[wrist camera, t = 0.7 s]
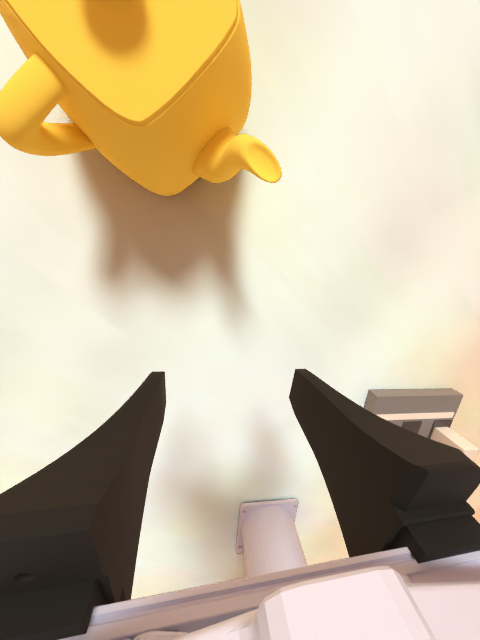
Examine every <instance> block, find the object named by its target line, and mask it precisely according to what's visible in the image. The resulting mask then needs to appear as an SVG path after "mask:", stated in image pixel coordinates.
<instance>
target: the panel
mask: <svg viewBox="0 0 480 640" xmlns="http://www.w3.org/2000/svg"><path fill="white" fill-rule="evenodd" d="M462 397H463V395H462V394H461V393H459V392H457V391H455V390H453V389H379V390H369V392H368V395H367V399H366V402H365V406H364V409H366V410H368V411H370V412H372V413H373V414H375V415H377V416H379V417H381V418H383V419H385V420H387V421H389V422H391V423H393V424H395V425H398V426H400V427H402V428H404V429H407V430H409V431H411V432H414V433H416V434H419V435H421V436H424V437H426V438H429V439H432V440H434V441H437V442H440V443H443V444H446V445H449V446H451V447H454V448H457V449H459V450H461V451H462V452H463V453H464V454H465V455H466V456H467V457H469V458H470V459H471V460H472V461H473V462H474V460H475V457H476V455H477V453H478V451H479V449H478V448H476V447H475V446H474V445H472V444H471V443H469V442H468V441H467V440H465V439H464V438H463V437H461V436H460V435H458V434H457V433H456V432H454V431H453V430H452V429H450V426H451V423H452V421H453V419H454V416H455V414H456V412H457V409H458V407H459V404H460V402H461V400H462Z"/></svg>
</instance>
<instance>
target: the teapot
mask: <svg viewBox="0 0 480 640" xmlns="http://www.w3.org/2000/svg"><path fill="white" fill-rule="evenodd" d="M0 14H1V15H2V17H3V19H4V21H5V23H6V24H7V26H8V28H9V30H10V31H11V33H12V35H13V36H14V38H15V40H16V41H17V43H18V45H19V46H20V48H21V50H22V51H23V53H24V54H25V56H26V57H27V59H28V60H27V61H26V62H25V63H24V64H23V65H22V66H21V67H20V68H19V69H18V70H17V71H16V72H15V74H14V75H13V76H12V77H11V78H10V79H9V81H8V82H7V83H6V84H5V86H4V87H3V89H2V90H1V91H0V136H1V137H2V138H3V139H4V140H5V141H6V142H7V143H8V144H9V145H11V146H12V147H14V148H15V149H18V150H20V151H23V152H25V153H29V154H34V155H41V156H56V155H64V154H71V153H76V152H82V151H87V150H91V149H97V150H98V151H99V152H100V153H101V154H102V155H103V156H104V157H105V158H106V159H108V160H109V161H110V162H111V163H112V164H113V165H114V166H115V167H117V168H118V169H119V170H120V171H122V172H123V173H124V174H126V175H127V176H128V177H130V178H131V179H132V180H134V181H135V182H137V183H138V184H139V185H141V186H143V187H144V188H146V189H148V190H149V191H151V192H154V193H156V194H158V195H164V196H171V195H175V194H177V193H180V192H181V191H183V190H184V189H185V188H187V187H188V186H189V185H191V184H192V183H193V182H194V181H195V180H197V179H198V178H199V177H201V178H203V179H205V180H207V181H209V182H212V183H221V182H225V181H227V180H229V179H231V178H232V177H233V176H235V175H236V174H237V173H238V172H239V171H240V170H241V169H245V170H248V171H249V172H251V173H252V174H254V175H256V176H257V177H258V178H260V179H262V180H264V181H266V182H270V183H275V182H277V181H279V180H280V178H281V173H282V172H281V168H280V165H279V162H278V161H277V159H276V157H275V156H274V154H273V153H272V152H271V150H270V149H269V148H268V147H267V146H266V145H265V144H263V143H262V142H261V141H260V140H258V139H256V138H254V137H252V136H250V135H247V134H240V135H237V134H238V133H239V132H240V130H241V129H242V128H243V125H244V123H245V121H246V119H247V115H248V111H249V106H250V99H251V60H250V52H249V46H248V40H247V34H246V29H245V23H244V18H243V13H242V9H241V4H240V0H0ZM57 104H59V105H60V107H61V108H62V109H63V111H64V112H65V113H66V114H67V116H68V117H69V118H70V119H71V121H72V122H73V123H74V124H60V123H46V122H43V121H44V120H45V118H46V117H47V115H48V114H49V113H50V112H51V110H52V109H53V108H54V107H55V106H56V105H57Z"/></svg>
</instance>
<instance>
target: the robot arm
mask: <svg viewBox="0 0 480 640" xmlns="http://www.w3.org/2000/svg"><path fill="white" fill-rule="evenodd" d="M289 399H290V402H291V405H292V408H293V411H294V413H295V416H296V418H297V420H298V422H299V424H300V426H301V428H302V430H303V432H304V434H305V436H306V438H307V440H308V442H309V444H310V446H311V448H312V450H313V452H314V455H315V457H316V459H317V461H318V464H319V467H320V469H321V472H322V474H323V477H324V480H325V483H326V485H327V488H328V491H329V494H330V497H331V499H332V502H333V505H334V509H335V512H336V515H337V518H338V521H339V524H340V527H341V530H342V534H343V537H344V540H345V544H346V547H347V551H348V554H349V558H345V559H340V560H335V561H330V562H324V563H319V564H314V565H309V566H308V565H307V562H306V559H305V556H304V553H303V550H302V547H301V543H300V540H299V537H298V534H297V531H296V528H295V525H294V521H295V517H296V512H297V507H298V500H297V499H295V498H294V499H283V500H273V501H262V502H251V503H243V504H242V505H241V506H240V515H239V524H238V533H237V542H236V553H238V554H241V553H243V556H244V565H245V573H246V578H241V579H236V580H231V581H226V582H220V583H215V584H210V585H205V586H200V587H194V588H189V589H184V590H179V591H174V592H168V593H163V594H158V595H153V596H148V597H142V598H137V599H132V600H131V593H132V586H133V579H134V571H135V564H136V557H137V551H138V544H139V537H140V531H141V524H142V518H143V512H144V506H145V499H146V493H147V488H148V482H149V476H150V472H151V467H152V463H153V459H154V455H155V452H156V448H157V444H158V440H159V436H160V433H161V429H162V425H163V420H164V414H165V407H166V390H165V372H151V373H150V374H149V376H148V377H147V378H146V380H145V381H144V382H143V383H142V384H141V386H140V387H139V388H138V389H137V390H136V391H135V393H134V394H133V395H132V396H131V397H130V398H129V399H128V400H127V401H126V402H125V403H124V404H123V405H122V406H121V408H120V409H119V410H118V411H117V412H116V413H115V414H114V415H112V416H111V417H110V418H109V419H108V420H107V421H106V422H105V423H104V424H103V425H101V426H100V427H99V428H98V429H97V430H96V431H94V432H93V433H92V434H91V435H89V436H88V437H87V438H86V439H84V440H83V441H82V442H80V443H79V444H78V445H76V446H75V447H74V448H72V449H71V450H70V451H68V452H67V453H65V454H64V455H63V456H61V457H60V458H58V459H57V460H55V461H54V462H52V463H51V464H49V465H48V466H46V467H45V468H43V469H41V470H40V471H38V472H37V473H35V474H34V475H32V476H30V477H28V478H27V479H25V480H23V481H22V482H20V483H18V484H17V485H15V486H13V487H12V488H10V489H8V490H7V491H5V492H3V493H1V494H0V640H480V524H479V523H478V522H477V521H476V520H475V518H473V516H472V515H473V514H474V513H475V511H474V509H473V508H472V507H471V506H470V505H469V504H468V503H467V502H466V500H467V499H468V498H469V497H470V495H471V494H472V493H473V492H474V490H475V489H476V488H477V487H478V485H479V484H480V467H479V466H478V465H476V464H475V463H474V462H473V461H472V460H471V459H470V458H469V457H467V456H466V455H465V454H464V453H463V452H462V451H461V450H459V449H457V448H454V447H451V446H449V445H446V444H443V443H440V442H437V441H434V440H432V439H429V438H426V437H424V436H421V435H419V434H416V433H414V432H411V431H409V430H407V429H404V428H402V427H400V426H398V425H395V424H393V423H391V422H389V421H387V420H385V419H383V418H381V417H379V416H377V415H375V414H373V413H372V412H370V411H368V410H366V409H364V408H363V407H361V406H359V405H358V404H356V403H354V402H353V401H351V400H350V399H348V398H347V397H345V396H343V395H342V394H341V393H339V392H338V391H336V390H335V389H333V388H332V387H330V386H329V385H328V384H326V383H325V382H323V381H322V380H321V379H319V378H318V377H317V376H315V375H314V374H312V373H311V372H309V371H308V370H306V369H295V373H294V378H293V382H292V387H291V391H290V395H289Z"/></svg>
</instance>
